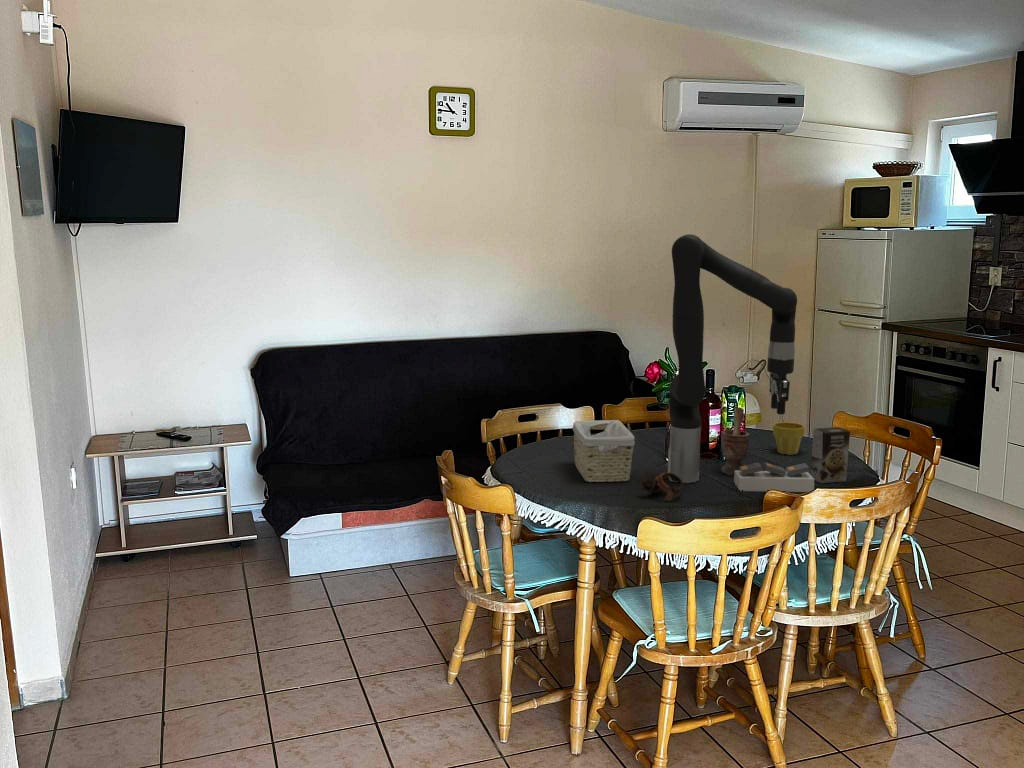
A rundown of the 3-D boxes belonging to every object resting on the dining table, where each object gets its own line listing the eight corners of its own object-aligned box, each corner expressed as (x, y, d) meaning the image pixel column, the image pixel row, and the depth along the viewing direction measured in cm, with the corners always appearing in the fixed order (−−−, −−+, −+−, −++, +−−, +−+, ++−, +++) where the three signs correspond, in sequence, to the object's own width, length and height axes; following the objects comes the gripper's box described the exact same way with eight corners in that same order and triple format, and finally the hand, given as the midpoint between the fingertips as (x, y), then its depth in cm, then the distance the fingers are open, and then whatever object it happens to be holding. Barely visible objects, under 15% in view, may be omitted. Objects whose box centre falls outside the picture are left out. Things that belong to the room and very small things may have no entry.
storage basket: (570, 462, 304) (571, 419, 301) (619, 461, 305) (620, 418, 302) (582, 484, 280) (583, 438, 278) (635, 483, 282) (636, 437, 279)
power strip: (739, 491, 274) (739, 476, 273) (733, 482, 282) (734, 468, 281) (813, 492, 273) (814, 477, 272) (806, 484, 281) (807, 469, 280)
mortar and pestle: (715, 465, 301) (718, 406, 297) (742, 465, 300) (745, 406, 296) (722, 476, 289) (725, 414, 285) (749, 476, 289) (753, 414, 285)
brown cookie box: (821, 483, 282) (824, 432, 278) (809, 477, 288) (812, 427, 284) (847, 481, 284) (851, 431, 281) (834, 475, 290) (838, 426, 287)
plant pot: (768, 448, 322) (770, 421, 320) (798, 448, 321) (800, 421, 319) (775, 456, 311) (777, 428, 310) (806, 456, 311) (808, 428, 309)
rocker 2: (765, 470, 275) (767, 465, 274) (762, 466, 279) (763, 461, 279) (784, 476, 275) (786, 471, 274) (781, 471, 279) (782, 467, 279)
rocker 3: (790, 476, 275) (789, 471, 274) (786, 471, 279) (785, 467, 279) (810, 471, 274) (809, 466, 274) (806, 467, 278) (805, 462, 278)
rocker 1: (742, 475, 275) (741, 470, 275) (740, 471, 280) (738, 466, 279) (762, 470, 275) (761, 465, 274) (759, 466, 279) (758, 461, 279)
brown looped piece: (671, 491, 276) (682, 472, 271) (676, 514, 268) (688, 494, 263) (634, 483, 273) (645, 464, 268) (638, 506, 266) (650, 486, 261)
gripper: (762, 352, 277) (759, 405, 280) (773, 360, 263) (770, 416, 266) (787, 352, 277) (784, 406, 280) (800, 360, 263) (796, 417, 266)
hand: (777, 411), depth 273 cm, fingers open, 7 cm apart
